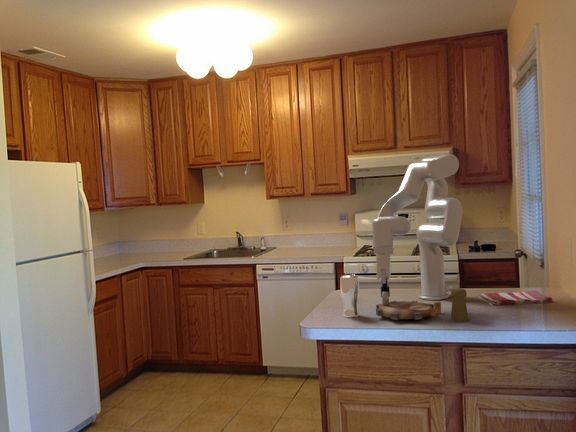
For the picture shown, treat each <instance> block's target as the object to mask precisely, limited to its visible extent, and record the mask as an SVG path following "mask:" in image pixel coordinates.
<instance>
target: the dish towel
mask: <svg viewBox="0 0 576 432" xmlns="http://www.w3.org/2000/svg"><path fill="white" fill-rule="evenodd" d="M477 298H479V299H481V300H482V301H484V302H486V303H487V304H489V305H491V306H512V305H529V304H531V305H533V304H544V303H543V302H553V303H554V299H553V297H551V296H547V295H544V294H542V293H541V292H539V291H537V290H527V291H518V292H491V293H490V292H488V293H479V294H477ZM532 303H533V304H532Z"/></svg>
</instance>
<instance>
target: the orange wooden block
mask: <svg viewBox="0 0 576 432" xmlns="http://www.w3.org/2000/svg"><path fill="white" fill-rule="evenodd" d="M433 305H434V309H436V314H435V315H437V314H442V303H441V302H440V301H433ZM398 320H399V321H411V320H412V321H413V320H414V321H415V319H398Z"/></svg>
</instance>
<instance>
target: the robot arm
mask: <svg viewBox="0 0 576 432" xmlns="http://www.w3.org/2000/svg"><path fill="white" fill-rule="evenodd" d="M459 166H460V163H459V158H458V157H457V156H455V154H451V153H449V154H439V155H431V156H430V155H429V156H426V157H423V158H422V159H421V160H419V161H418V160H417V161H413V162H411V163H410V164H409V165H408V166H407V169H406V172H405V173H404V176H403V177H402V181H401V184H400V186H399V188H398V190H397V192H396V193H394V194H393V195H392V196H391V197H390V198H389V199H388V200H387V201H386V202H385V203H384V204H383V205H382V207H380V210H379V212H378V215H377V217H376V218H374V219H373V220H372V222H371V223H372V224H371V225H372V244H373V245H372V247H373V255H374V256H375V259H376V260H375V262H376V267H375V268H376V280H377V281H379V280H380V297H381V298H382V292H388V293H389V298H390V296H391V295H390V293H391V292H390V282H389V281H390V279H391V274H392V273H391V270H392V269H391V267H392V264H391V262H392V261H391V255H393V254H394V239H393V238H394V237H393V236H405V235H407V234H408V233H409V232H410V231H411V228H412V224H411V221H410V220H409V219H408V218H407V217H405V216H399V215H396V214H397V212H399V211H401V210H402V209H404V208H405V207H407V206H410V205H412V204H414V203H415V202H417V201H418V200H419V198H420V195H421V192H422V190H423V187H424V185H425V182H426V185H427V192H426V198H425V203H424V204H425V205H424V213H423V214H424V216H425V218H426V219H427V220H430V221H443V222H424V223H421V224H420V225H419V226H418V228H417V230H416V239H417V243H418V249H419V259H420V260H419V261H420V263H419V264H420V282H421V285H420V286H421V288H420V289H421V292H419V293H417V296H418V298H419V299H421V300H427V301H440V300H446V299H448V298H449V297H450V295H449V293H448V292H451V291H452V289H454V288H455V286H453V285H450V286H447V285H445V284H446V283H445V263H444V258H445V257H444V253H443V250H442V249H441V247H453V246H455V245H456V244H457V242H458V240H459V236H460V230H461V226H462V219H463V205H462V203H461V201H460V200H459V199H458V198H457V197H449V196H448V194H449V186H448V183H447V181H446V179H445V178H448V177H451V176H452V175H455V174H456V173H457V172H458V169H459ZM395 215H396V216H395Z"/></svg>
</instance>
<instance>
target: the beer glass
mask: <svg viewBox="0 0 576 432" xmlns="http://www.w3.org/2000/svg"><path fill="white" fill-rule="evenodd" d="M339 281H340V285H339V286H340V295H341V300H342V305H343V311H342V316H343V317H345V318H357V317H359V316H360V311H359V307H358V303H359V296H360V295H359V294H360V285H359V284H360V283H359V276H358V275H356V274H343V275H341V276H340V280H339Z"/></svg>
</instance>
